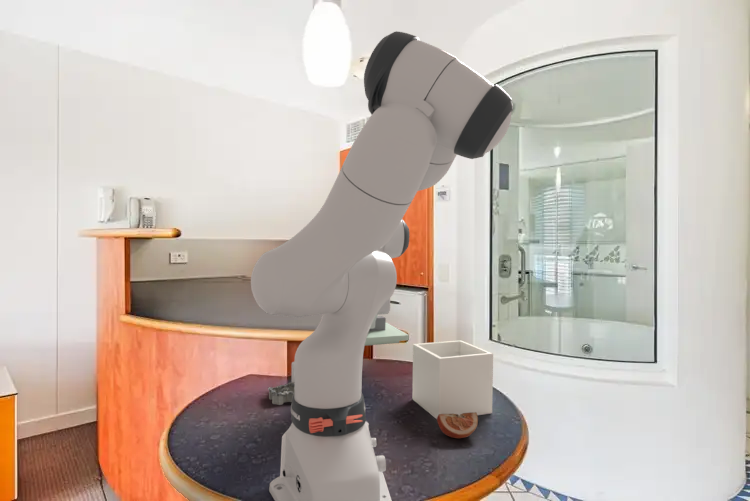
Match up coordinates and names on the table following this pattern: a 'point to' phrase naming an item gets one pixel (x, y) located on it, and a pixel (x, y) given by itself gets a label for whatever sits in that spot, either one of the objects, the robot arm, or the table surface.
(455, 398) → the box
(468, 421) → the fruit slice
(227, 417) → the table surface
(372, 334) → the lid
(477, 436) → the table surface
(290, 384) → the egg carton
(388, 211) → the robot arm
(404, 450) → the table surface
